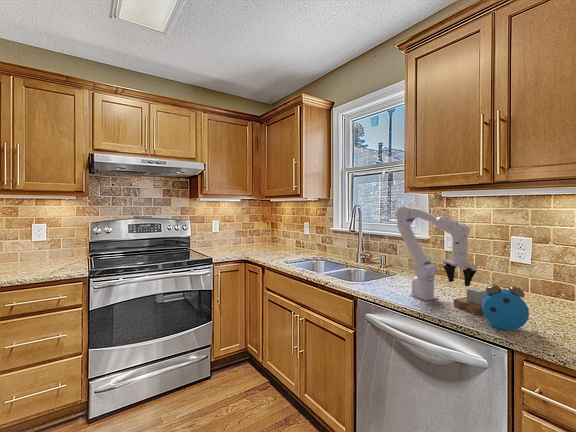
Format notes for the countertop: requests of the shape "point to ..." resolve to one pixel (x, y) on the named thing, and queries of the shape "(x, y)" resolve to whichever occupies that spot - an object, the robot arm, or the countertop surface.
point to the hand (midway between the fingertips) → (459, 283)
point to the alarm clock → (505, 307)
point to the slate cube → (475, 295)
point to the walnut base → (468, 306)
